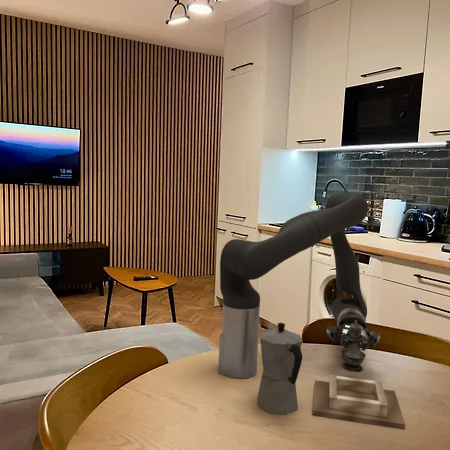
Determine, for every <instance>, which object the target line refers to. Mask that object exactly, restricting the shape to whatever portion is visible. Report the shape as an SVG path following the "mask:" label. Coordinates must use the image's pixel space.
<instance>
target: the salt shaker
mask: <svg viewBox="0 0 450 450" xmlns="http://www.w3.org/2000/svg"><path fill="white" fill-rule="evenodd" d="M354 322H355V323H353V324H351V325H350V327H349V336H348V337H347V338H348V343H347V349H346V348H344V349H342V350H341V351H340V354H341V358H342V359H343V361H344V362H343V363H341V365H340V368H342V369H343V370H345V371H348V372H350V373H351V372H352V373H361V372H363V371H364V367H363V366H362V365H361V364H362V363H363V362H364V361H365V358H366V357H367V355H366V353H365V352H364V351H362V348H361V345H360V342H361V341H362V338H361V326H360V325H359V324H358V323H357V321H356V320H355V321H354Z"/></svg>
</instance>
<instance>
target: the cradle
mask: <svg viewBox="0 0 450 450" xmlns="http://www.w3.org/2000/svg"><path fill="white" fill-rule="evenodd" d="M313 388H314V389H313V390H314V391H313V403H312V416H315V417H316V416H317V417H323V418H330V419H335V420H342V421H343V420H344V421H347V422H348V421H349V422H356V423H362V424H369V425H374V426H383V427H388V428H389V427H390V428H395V429H401V430H402V429H403V430H405V429H406V422H405V420H404V417H403V413H402V410H401V407H400V404H399V400H398V397H397V393H396V391H395V390H390V389H384V386H383V383H382V381H379V380H370V379H364V378H356V377H348V376H343V375H342V376H341V375H333V374H329V380H328V381H325V380H324V381H323V380H317V379H316V380H314V387H313Z"/></svg>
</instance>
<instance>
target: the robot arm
mask: <svg viewBox="0 0 450 450" xmlns="http://www.w3.org/2000/svg"><path fill="white" fill-rule="evenodd" d="M368 213H369V203H368V201H367V199H366V198H365V197H363V196H362V195H360V194H356V193H335V194H332V195H331V196H329V197H328V198H327V201H326V204H325V208H323V209H316V210H311V211H307V212H303V213H300V214H299V215H296V216H293V217H292V218H290V219H287V220H286V221H285V222H283V223H282V225H281V226H280V228H279V230H278V232H277V233H276V235H274V236H271V237H269V238H267V239H264V240H261V241H250V240H246V239H241V238H240V239H239V238H233V239H230V240H229V241H227V242H226V243H225V244H224V246H223V248H222V250H221V253H220V257H219V258H220V259H219V264H220V265H219V283H220V284H219V287H220V288H219V289H220V293H221V295H222V321H221V322H222V324H221V334H219V338H218V339H219V343H218V367H217V370H218V371H217V372H218V374H222V375H224V376H226V377H229V378H233V379H247V378H248V379H249V378H252V377H254V376H255V375H256V374H257V373H258V372H257V371H258V353H259V335H260V310H261V309H260V308H261V295H260V293H259V292H258V291H257V290H256V289H255V288H254V286H252V283H251V280H252V281H253V280H257V279H260V278H261V277H263V276H265V275H267V274H268V273H269V272H270V271H272V270H273V269H274V268H276V267H278V265H280V264H281V263H283V262H284V261H287V260H288V259H291V258H292V257H294V256H296V255H297V254H300V253H301V252H303V251H305V250H307V249H309V248H311V247H313V246H315V245H317V244H319V243H320V242H322V241H324V240H325V239H327V238H330V241H331V247H332V250H333V254H334V263H335V281H336V288H337V291H340V292H342V293H348V294H350V295H352V296H353V297H339V298H336V299H334V300H333V301H332V303H331V313H332V316H333V318H334V319H335V321H336V322H337V323H336V325H337V326H333V325H331V324H327V325H326V336H327V337H328V338H329V339H330V340H331V341H332V342H334V343H338V342H340V345H341V347H343V348H344V349H347V346H348V338H347V337H348V336H349V327H350V325H351V324H353V323H355V322H354V321H355V320H356V321H357V323H358V324H359V325H360V326H361V338H362V341H361V342H360V349H361V352H366V350H368V349H369V347H373V348H374V347H376V345H378V343H379V342H380V340H381V331H379V330H376V331H371V330H370V329H368V328H367V327H368V326H367V323H366V317H367V316H368V307H367V305H366V300H365V298H364V295H363V293H362V290H361V281H360V280H361V278H360V277H361V275H360V264H359V261H358V258H357V256H356V254H355V252H354V250H353V249H352V247H351V244H350V243H349V240H348V238H347V236H346V231H345V230H347V229H349V228H351V227H354V226H357V225H359V224H361V223H362V222H364V220H365V218H366V217H367V215H368Z"/></svg>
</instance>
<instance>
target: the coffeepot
mask: <svg viewBox="0 0 450 450" xmlns="http://www.w3.org/2000/svg"><path fill="white" fill-rule="evenodd" d="M285 326H286V324H285V323H283V322H277V329H276V328H265V331H261V332H259V335H260V336H259V339H260V341H259V342H260V349H261V359H262V360H261V361H262V369H263V370H262V371H263V372H262V373H261V378H260V383H259V388H258V392H257V397H256V399H257V401H256V402H257V403H256V404H257V405H256V406H257V407H258V408H259V409H260V410H262V411H264V412H266V413H268V414H273V415H288V414H291V413H293V412H296V411H297V409H299V404H298V403H299V402H298V395H297V385H296V383H297V379H298V376H299V373H300V369H301V366H302V362H303V352H302V350H301V348H302V345H303V344H302V343H303V340H302V336H301V335H300V334H298V333H295V332H293V331H289V330H285V328H286V327H285Z"/></svg>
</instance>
